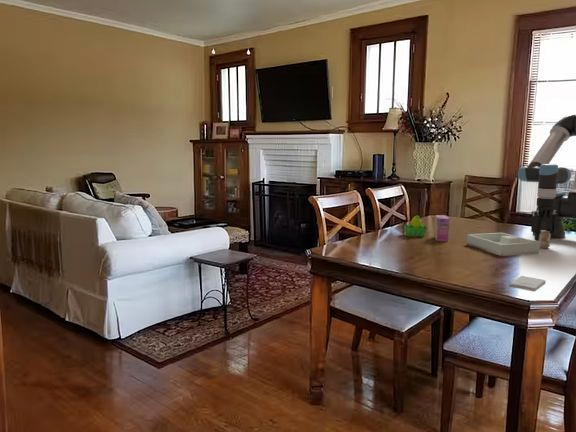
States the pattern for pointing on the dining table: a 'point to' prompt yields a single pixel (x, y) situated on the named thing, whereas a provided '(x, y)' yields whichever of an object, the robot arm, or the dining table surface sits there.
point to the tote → (493, 245)
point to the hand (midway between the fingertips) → (542, 246)
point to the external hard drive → (527, 283)
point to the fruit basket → (415, 228)
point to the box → (441, 228)
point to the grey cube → (509, 240)
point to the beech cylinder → (544, 239)
